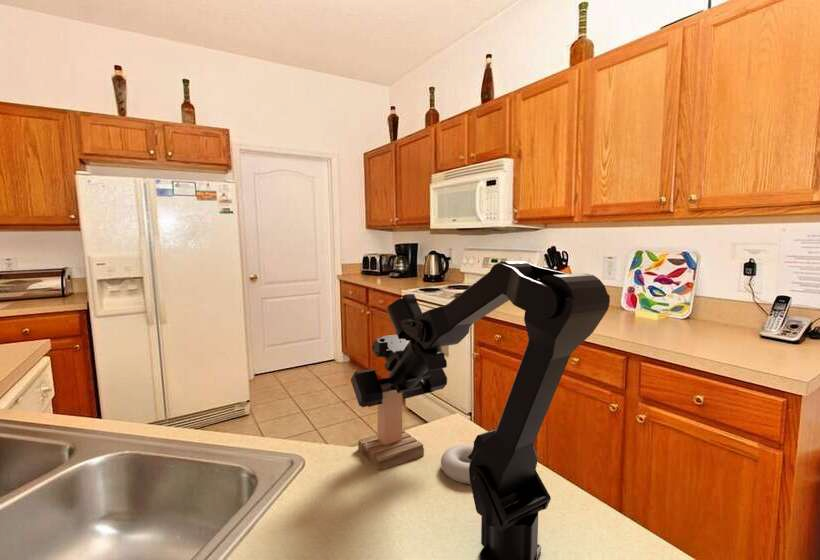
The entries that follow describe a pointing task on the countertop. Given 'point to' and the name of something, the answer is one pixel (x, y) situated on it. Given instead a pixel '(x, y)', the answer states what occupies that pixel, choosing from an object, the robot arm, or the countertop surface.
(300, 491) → the countertop surface
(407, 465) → the countertop surface
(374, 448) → the stacked wooden slats
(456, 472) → the donut
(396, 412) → the clay bar
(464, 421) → the countertop surface
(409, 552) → the countertop surface
